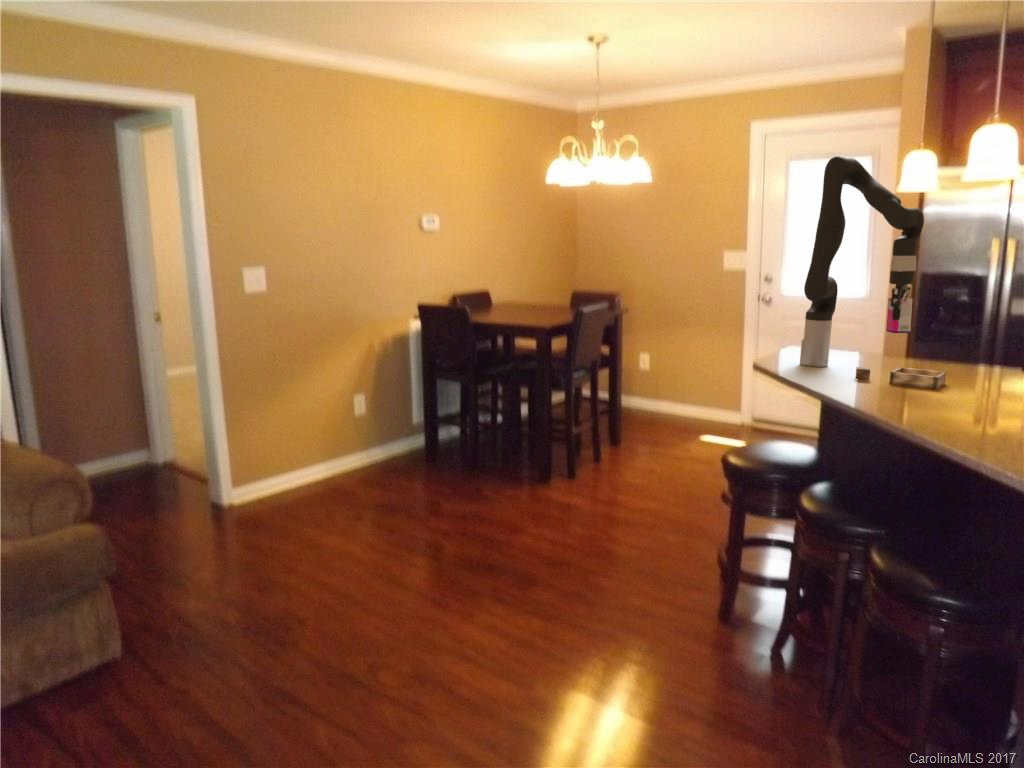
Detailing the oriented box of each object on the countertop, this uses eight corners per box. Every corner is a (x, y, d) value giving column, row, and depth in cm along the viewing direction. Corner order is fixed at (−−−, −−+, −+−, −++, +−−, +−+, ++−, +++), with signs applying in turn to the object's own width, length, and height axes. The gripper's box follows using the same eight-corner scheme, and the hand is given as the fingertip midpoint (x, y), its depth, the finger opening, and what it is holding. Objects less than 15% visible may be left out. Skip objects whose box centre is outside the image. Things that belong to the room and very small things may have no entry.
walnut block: (856, 380, 255) (857, 368, 254) (855, 378, 258) (856, 367, 258) (869, 381, 253) (870, 369, 253) (868, 379, 257) (869, 367, 256)
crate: (889, 383, 249) (890, 372, 248) (898, 378, 258) (899, 367, 257) (936, 389, 240) (938, 377, 239) (944, 384, 249) (946, 372, 248)
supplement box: (903, 331, 256) (906, 297, 253) (910, 333, 250) (913, 298, 248) (885, 331, 256) (888, 297, 254) (892, 333, 250) (895, 298, 248)
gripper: (896, 268, 257) (892, 316, 260) (885, 270, 246) (881, 319, 249) (920, 269, 252) (916, 317, 255) (910, 270, 241) (906, 321, 244)
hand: (899, 318), depth 252 cm, fingers closed on supplement box, 8 cm apart
